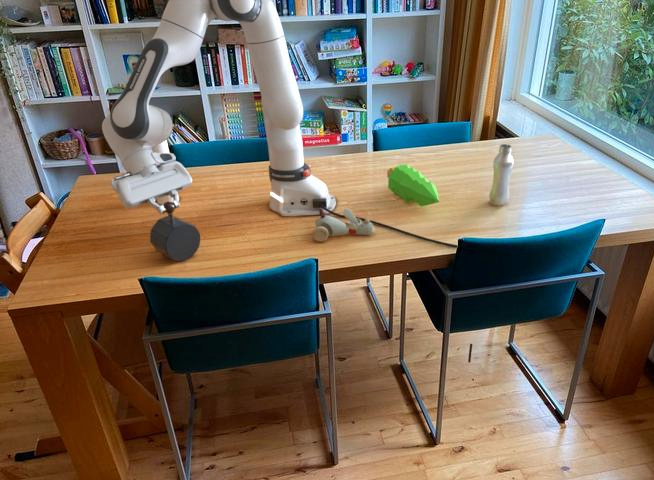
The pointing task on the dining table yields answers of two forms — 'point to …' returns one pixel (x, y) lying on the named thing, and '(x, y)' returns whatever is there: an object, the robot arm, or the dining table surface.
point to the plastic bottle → (501, 176)
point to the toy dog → (340, 226)
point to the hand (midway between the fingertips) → (170, 210)
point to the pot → (174, 236)
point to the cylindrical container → (162, 149)
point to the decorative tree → (411, 185)
